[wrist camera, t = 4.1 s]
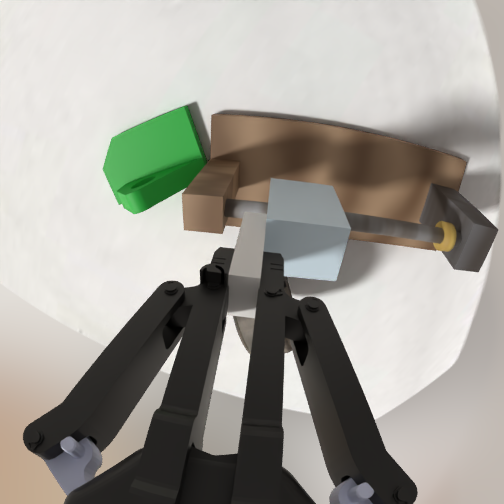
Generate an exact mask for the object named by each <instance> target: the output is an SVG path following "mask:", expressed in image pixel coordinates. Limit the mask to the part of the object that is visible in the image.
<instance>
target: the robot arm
mask: <svg viewBox="0 0 504 504" xmlns="http://www.w3.org/2000/svg"><path fill="white" fill-rule="evenodd" d="M266 219H267V214H261V213H252V212H244V216H243V220H242V223H241V227H240V231H239V235H238V239H237V243H236V247H235V249H232V248H223V247H220V248H218V249H217V250H216V251H215V252H214V255H213V258H212V261H211V264H207V265H205V266H203V267H202V268H201V269H200V285H198V286H194V287H187V288H184V286H183V285H182V283H180V282H178V281H167V282H164V283H162V284H161V285H160V286H159V287H158V288H157V289H156V290H155V292H154V293H153V294H152V295H151V296H150V297H149V298H148V299H147V301H146V302H145V303H144V304H143V305H142V306H141V307H140V309H139V310H138V311H137V312H136V313H135V314H134V316H133V317H132V318H131V319H130V320H129V321H128V322H127V324H126V325H125V326H124V327H123V328H122V330H121V331H120V332H119V333H118V334H117V335H116V337H115V338H114V339H113V340H112V341H111V343H110V344H109V345H108V346H107V347H106V349H105V350H104V351H103V352H102V353H101V355H100V356H99V357H98V358H97V360H96V361H95V362H94V363H93V364H92V366H91V367H90V368H89V370H88V371H87V372H86V373H85V375H84V376H83V377H82V378H81V380H80V381H79V382H78V383H77V385H76V386H75V387H74V388H73V390H72V391H71V392H70V394H69V395H68V396H67V397H66V399H65V400H64V401H63V403H61V404H60V405H58V406H57V407H55V408H54V409H52V410H51V411H49V412H48V413H46V414H44V415H43V416H41V417H40V418H38V419H37V420H35V421H34V422H32V423H30V424H29V425H28V426H27V427H26V428H25V430H24V433H23V440H24V444H25V446H26V447H27V449H28V450H30V451H31V452H33V453H34V454H36V455H38V456H39V457H41V458H42V459H43V460H44V461H45V462H46V464H47V466H48V467H49V469H50V471H51V472H52V474H53V475H54V477H55V478H56V480H57V482H58V483H59V485H60V486H61V488H62V489H63V490H64V492H65V493H66V495H67V498H66V499H65V502H64V504H316V503H315V502H314V501H313V500H312V499H311V497H310V496H309V495H308V494H307V493H306V491H305V490H304V489H303V488H302V486H301V485H300V484H299V483H298V481H297V480H296V479H295V478H294V477H293V475H292V474H291V473H290V472H289V471H288V470H286V469H285V468H283V467H282V457H283V439H284V432H283V428H282V407H283V382H284V349H285V338H287V339H290V344H291V347H292V350H293V354H294V357H295V360H296V364H297V367H298V370H299V374H300V377H301V381H302V384H303V387H304V391H305V394H306V398H307V401H308V405H309V408H310V411H311V415H312V418H313V422H314V425H315V429H316V432H317V436H318V439H319V443H320V446H321V450H322V453H323V457H324V460H325V464H326V467H327V470H328V473H329V475H330V477H331V479H332V481H333V483H334V485H335V487H336V488H335V489H333V491H332V492H331V495H330V504H413V503H414V502H415V500H416V497H417V487H416V485H415V483H414V482H413V481H412V480H411V479H410V478H409V476H408V475H407V474H406V473H405V472H404V471H403V469H402V468H401V467H400V466H399V465H398V464H397V463H396V462H395V460H394V459H393V458H392V457H391V456H390V455H389V454H388V452H387V451H386V449H385V446H384V444H383V441H382V438H381V436H380V433H379V431H378V428H377V425H376V423H375V420H374V418H373V415H372V412H371V410H370V407H369V405H368V402H367V400H366V397H365V395H364V393H363V390H362V388H361V385H360V383H359V380H358V378H357V376H356V373H355V371H354V369H353V366H352V364H351V361H350V359H349V357H348V354H347V352H346V350H345V348H344V345H343V343H342V341H341V338H340V336H339V334H338V332H337V329H336V327H335V325H334V323H333V320H332V318H331V316H330V314H329V312H328V309H327V307H326V305H325V304H324V302H323V301H321V300H320V299H318V298H315V297H305V298H303V299H302V300H301V301H299V300H296V299H294V298H292V297H290V296H289V295H288V294H287V293H286V292H285V290H284V258H283V257H282V255H281V254H280V253H272V252H263V251H264V241H265V231H266V230H265V229H266ZM226 315H232V316H240V317H248V318H255V321H254V329H253V337H252V346H251V354H250V362H249V370H248V378H247V386H246V394H245V402H244V409H243V418H242V424H241V432H240V440H239V447H238V454H229V455H217V456H215V455H211V454H208V453H206V452H204V451H202V446H203V435H204V430H205V425H206V420H207V414H208V409H209V404H210V399H211V394H212V389H213V384H214V379H215V375H216V370H217V365H218V360H219V355H220V350H221V345H222V340H223V335H224V331H225V326H226ZM181 338H182V340H181V343H180V346H179V349H178V352H177V355H176V358H175V361H174V364H173V368H172V371H171V374H170V377H169V380H168V384H167V387H166V390H165V394H164V397H163V400H162V404H161V406H160V408H159V409H157V410H156V411H155V412H154V414H153V417H152V420H151V424H150V427H149V430H148V434H147V438H146V441H145V444H144V448H142V449H140V450H138V451H136V452H134V453H133V454H131V455H130V456H128V457H127V458H125V459H124V460H122V461H121V462H119V463H118V464H116V465H115V466H113V467H112V468H110V469H108V470H107V471H105V472H104V473H102V474H100V475H99V476H97V477H95V478H94V476H95V473H96V471H97V470H98V469H99V468H100V467H101V465H102V455H101V452H102V451H103V450H104V449H105V448H106V447H107V446H108V445H109V444H110V443H111V442H112V440H113V439H114V438H115V436H116V435H117V434H118V432H119V430H120V429H121V428H122V426H123V425H124V423H125V421H126V420H127V418H128V417H129V415H130V414H131V412H132V411H133V409H134V408H135V406H136V405H137V403H138V402H139V400H140V399H141V397H142V396H143V394H144V393H145V391H146V390H147V388H148V387H149V385H150V384H151V382H152V381H153V379H154V377H155V376H156V375H157V373H158V372H159V370H160V369H161V367H162V366H163V364H164V363H165V361H166V360H167V358H168V357H169V355H170V354H171V352H172V351H173V350H174V348H175V347H176V345H177V344H178V342H179V341H180V339H181Z"/></svg>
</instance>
